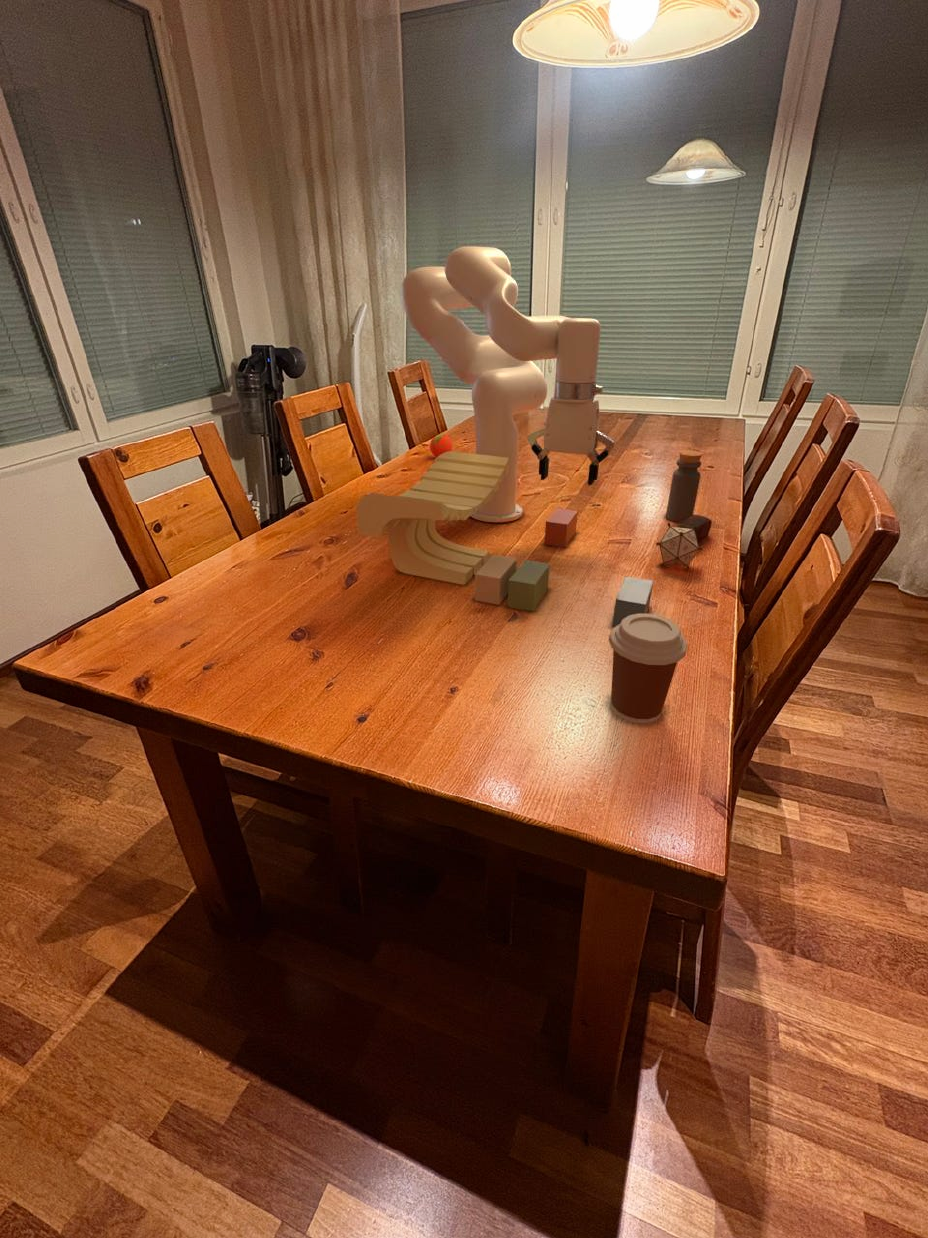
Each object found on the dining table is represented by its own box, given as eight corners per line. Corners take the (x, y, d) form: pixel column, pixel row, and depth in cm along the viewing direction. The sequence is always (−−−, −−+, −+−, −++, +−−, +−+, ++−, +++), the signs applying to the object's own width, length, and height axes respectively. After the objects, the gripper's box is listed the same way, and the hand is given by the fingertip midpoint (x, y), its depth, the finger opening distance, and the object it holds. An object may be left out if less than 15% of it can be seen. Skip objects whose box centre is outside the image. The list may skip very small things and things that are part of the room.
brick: (690, 551, 122) (695, 529, 120) (671, 546, 124) (676, 525, 122) (709, 536, 129) (713, 515, 127) (691, 532, 131) (695, 511, 129)
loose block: (544, 544, 125) (545, 521, 123) (555, 529, 133) (557, 508, 130) (565, 547, 124) (567, 524, 121) (575, 532, 131) (577, 510, 129)
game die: (678, 580, 119) (714, 540, 116) (679, 583, 111) (718, 540, 108) (642, 551, 120) (677, 511, 117) (641, 552, 112) (679, 509, 109)
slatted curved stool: (437, 531, 131) (435, 449, 123) (506, 543, 126) (509, 457, 117) (363, 587, 107) (354, 490, 99) (443, 605, 102) (442, 503, 93)
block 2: (507, 606, 101) (508, 579, 99) (523, 585, 109) (525, 559, 106) (533, 611, 100) (535, 584, 97) (548, 589, 107) (550, 563, 105)
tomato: (444, 462, 181) (444, 438, 178) (424, 460, 184) (423, 436, 180) (456, 456, 187) (456, 433, 184) (436, 454, 190) (436, 430, 186)
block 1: (474, 600, 103) (474, 573, 101) (492, 579, 111) (493, 554, 108) (499, 605, 102) (500, 578, 99) (515, 583, 109) (517, 558, 107)
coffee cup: (688, 714, 76) (707, 633, 70) (637, 739, 72) (652, 655, 66) (635, 679, 83) (648, 602, 77) (585, 700, 79) (595, 620, 73)
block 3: (611, 627, 95) (615, 599, 93) (621, 602, 103) (625, 576, 100) (640, 632, 94) (645, 604, 92) (648, 607, 101) (653, 580, 99)
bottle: (693, 516, 141) (706, 451, 133) (690, 524, 136) (703, 457, 129) (667, 512, 143) (678, 448, 135) (663, 520, 138) (675, 454, 131)
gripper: (624, 390, 114) (613, 480, 122) (536, 386, 120) (531, 471, 128) (617, 397, 108) (606, 490, 116) (524, 391, 113) (520, 481, 122)
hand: (567, 480), depth 122 cm, fingers open, 9 cm apart
